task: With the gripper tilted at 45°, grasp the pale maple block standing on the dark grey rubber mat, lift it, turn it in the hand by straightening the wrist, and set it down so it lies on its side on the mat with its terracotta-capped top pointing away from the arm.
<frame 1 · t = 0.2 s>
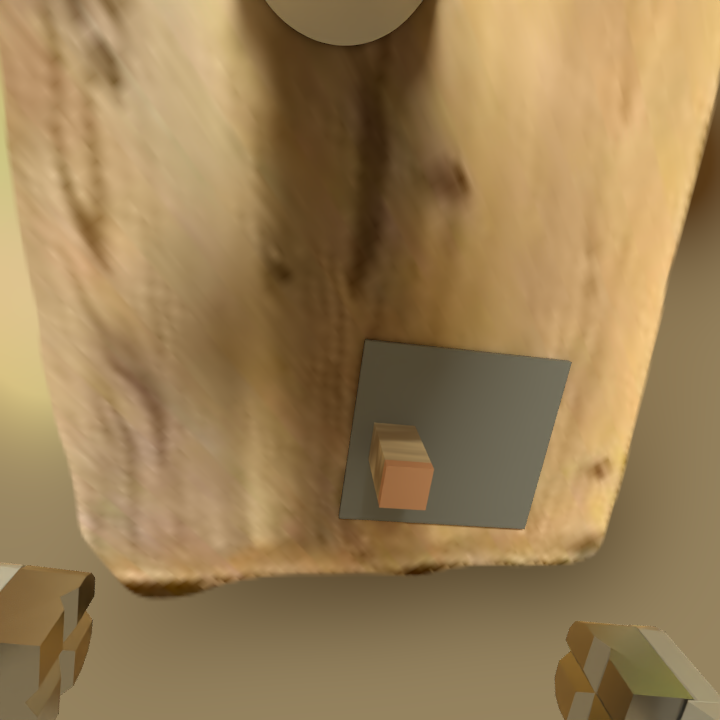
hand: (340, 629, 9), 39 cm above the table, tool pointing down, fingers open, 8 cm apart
rubber mat: (450, 440, 53), on the table
maple block: (391, 442, 52), resting on rubber mat
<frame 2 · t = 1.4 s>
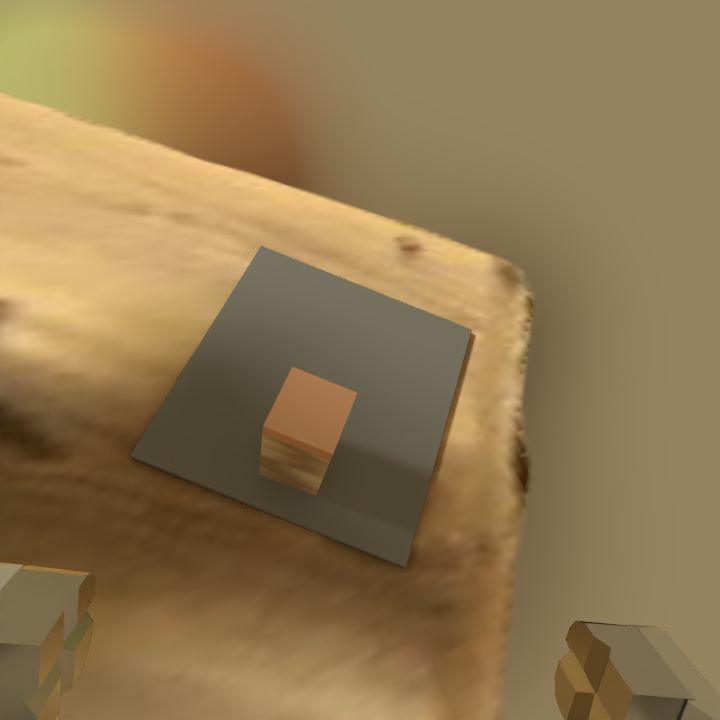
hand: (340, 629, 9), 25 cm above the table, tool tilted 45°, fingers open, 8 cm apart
rubber mat: (322, 387, 40), on the table
maple block: (298, 458, 36), resting on rubber mat
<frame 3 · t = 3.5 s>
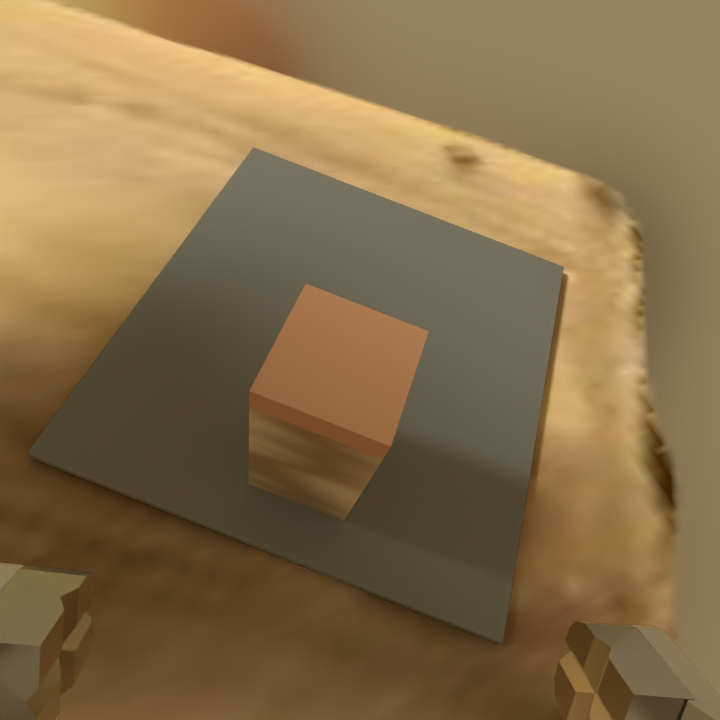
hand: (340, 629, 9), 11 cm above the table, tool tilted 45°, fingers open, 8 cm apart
rubber mat: (348, 346, 25), on the table
maple block: (314, 457, 22), resting on rubber mat
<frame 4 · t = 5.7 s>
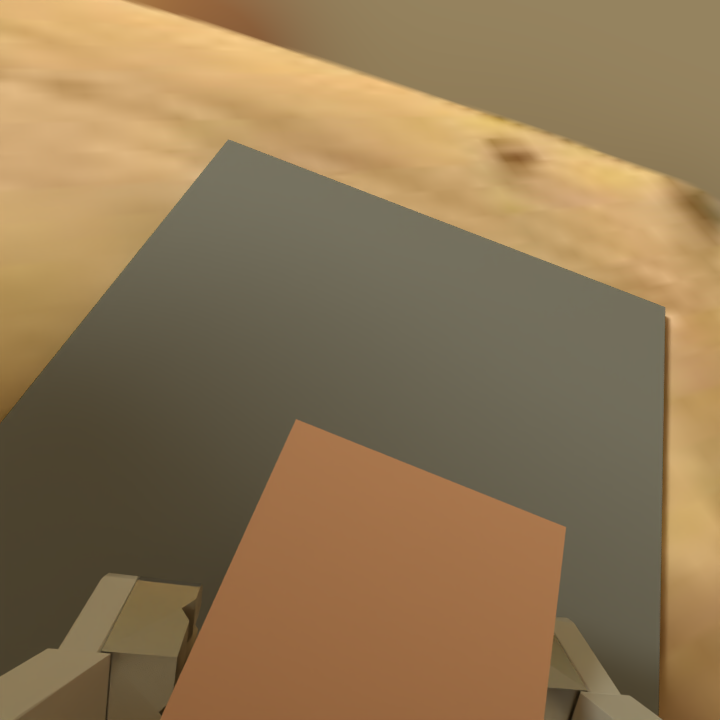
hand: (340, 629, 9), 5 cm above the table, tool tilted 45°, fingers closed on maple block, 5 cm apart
rubber mat: (365, 439, 17), on the table
maple block: (311, 650, 13), point 1 cm above the table, touching gripper, rubber mat
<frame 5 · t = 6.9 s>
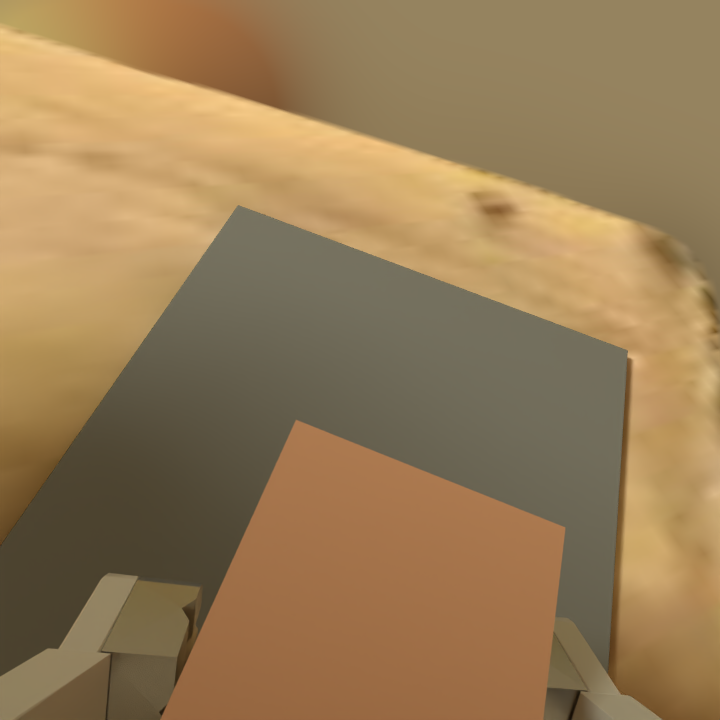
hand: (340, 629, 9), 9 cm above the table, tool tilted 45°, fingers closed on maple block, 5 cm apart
rubber mat: (359, 477, 19), on the table
maple block: (311, 650, 13), point 4 cm above the table, touching gripper
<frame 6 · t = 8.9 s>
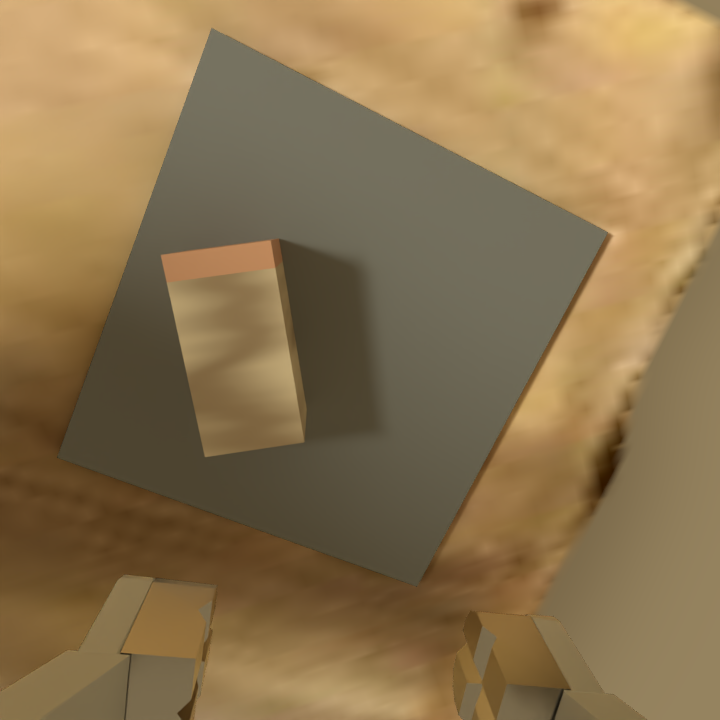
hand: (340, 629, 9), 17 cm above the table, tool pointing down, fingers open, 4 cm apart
rubber mat: (328, 344, 25), on the table
maple block: (260, 431, 23), point 2 cm above the table, tilted 90°, touching rubber mat
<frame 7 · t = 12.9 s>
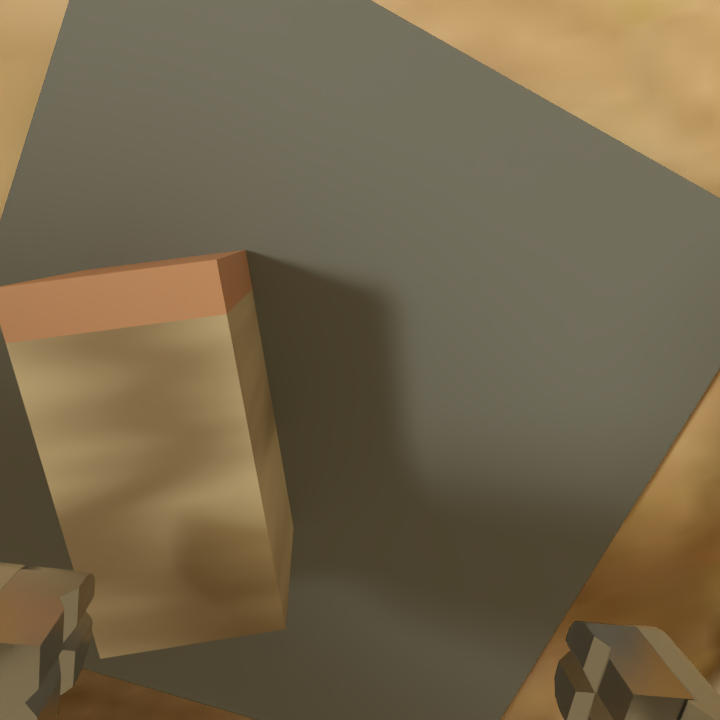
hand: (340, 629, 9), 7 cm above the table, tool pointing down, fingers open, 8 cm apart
rubber mat: (329, 422, 15), on the table
maple block: (211, 583, 13), point 2 cm above the table, tilted 90°, touching rubber mat
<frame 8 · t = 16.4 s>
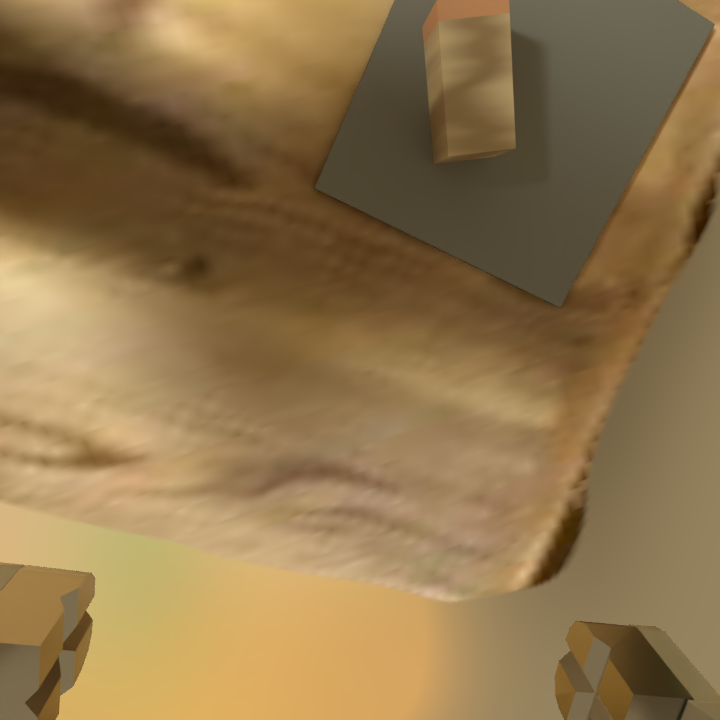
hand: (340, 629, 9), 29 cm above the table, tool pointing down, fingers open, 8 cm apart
rubber mat: (510, 108, 35), on the table
maple block: (472, 156, 33), point 2 cm above the table, tilted 90°, touching rubber mat
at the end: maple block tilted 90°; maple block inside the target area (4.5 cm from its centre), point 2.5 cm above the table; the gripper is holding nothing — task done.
